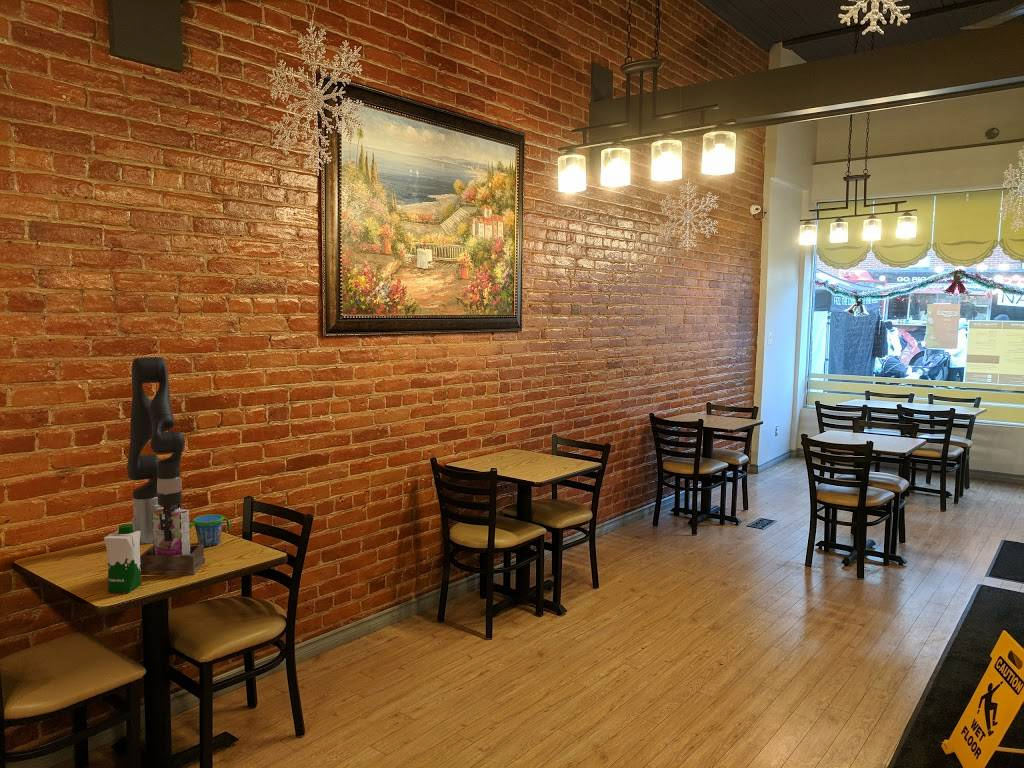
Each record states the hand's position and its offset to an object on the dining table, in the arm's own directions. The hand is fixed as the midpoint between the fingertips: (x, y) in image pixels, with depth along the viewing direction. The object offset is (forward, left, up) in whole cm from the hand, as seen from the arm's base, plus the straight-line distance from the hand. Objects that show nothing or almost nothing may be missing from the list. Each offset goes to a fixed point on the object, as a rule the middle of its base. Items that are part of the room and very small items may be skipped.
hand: (171, 537), depth 249 cm
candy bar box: (0, 0, -7) cm, 7 cm away
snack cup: (+4, +27, -11) cm, 29 cm away
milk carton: (-9, -17, -11) cm, 22 cm away
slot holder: (0, 0, -11) cm, 11 cm away
